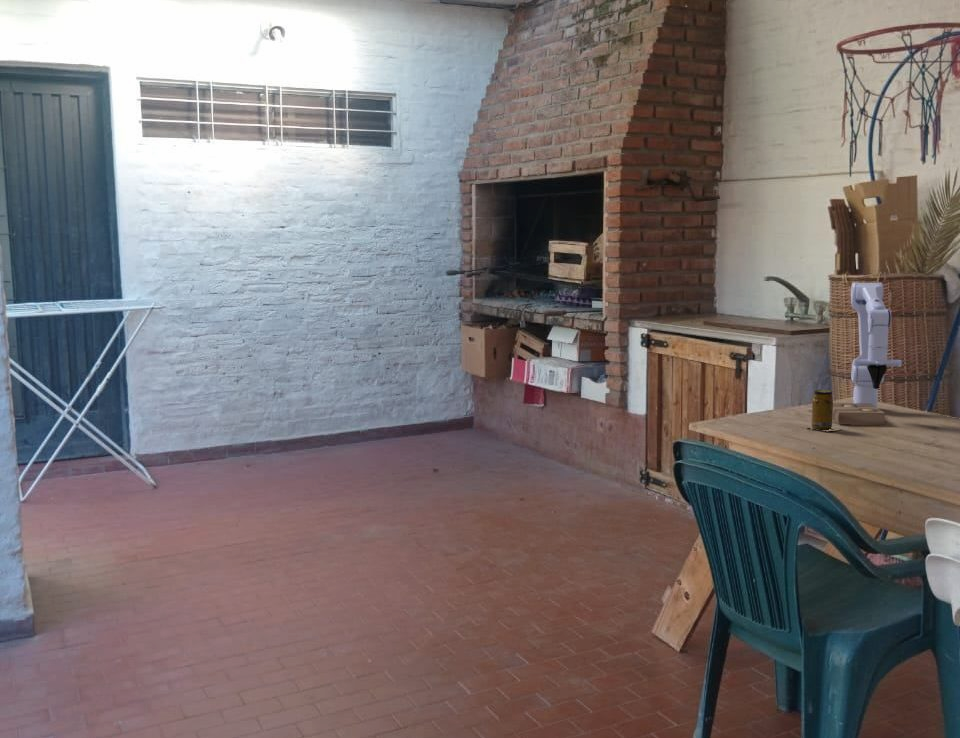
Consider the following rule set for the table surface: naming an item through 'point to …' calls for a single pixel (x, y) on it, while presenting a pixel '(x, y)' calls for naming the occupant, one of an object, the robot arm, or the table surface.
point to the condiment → (822, 410)
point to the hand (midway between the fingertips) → (875, 388)
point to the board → (857, 414)
